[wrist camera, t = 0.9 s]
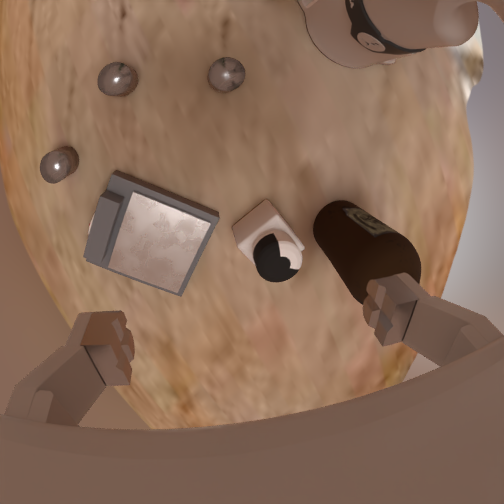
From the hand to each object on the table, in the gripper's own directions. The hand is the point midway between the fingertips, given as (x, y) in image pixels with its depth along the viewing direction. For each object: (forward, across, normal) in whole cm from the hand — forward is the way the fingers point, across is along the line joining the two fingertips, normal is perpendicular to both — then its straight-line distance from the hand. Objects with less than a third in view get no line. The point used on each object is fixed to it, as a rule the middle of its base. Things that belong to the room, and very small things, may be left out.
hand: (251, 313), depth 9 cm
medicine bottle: (+36, -7, +13) cm, 39 cm away
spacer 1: (+36, +22, -1) cm, 42 cm away
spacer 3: (+36, -2, -10) cm, 38 cm away
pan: (+34, +9, +13) cm, 37 cm away
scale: (+36, +10, +12) cm, 39 cm away
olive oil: (+36, -21, +14) cm, 44 cm away
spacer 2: (+36, +12, -12) cm, 40 cm away
